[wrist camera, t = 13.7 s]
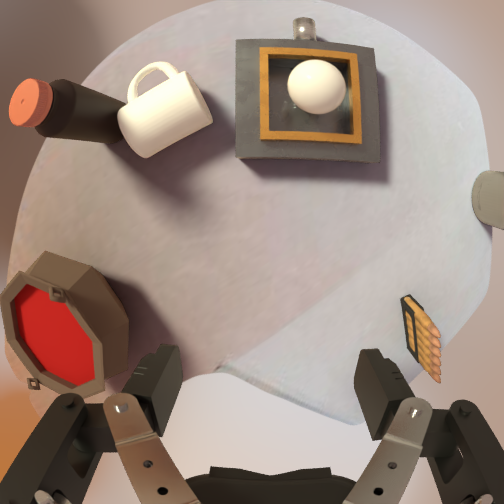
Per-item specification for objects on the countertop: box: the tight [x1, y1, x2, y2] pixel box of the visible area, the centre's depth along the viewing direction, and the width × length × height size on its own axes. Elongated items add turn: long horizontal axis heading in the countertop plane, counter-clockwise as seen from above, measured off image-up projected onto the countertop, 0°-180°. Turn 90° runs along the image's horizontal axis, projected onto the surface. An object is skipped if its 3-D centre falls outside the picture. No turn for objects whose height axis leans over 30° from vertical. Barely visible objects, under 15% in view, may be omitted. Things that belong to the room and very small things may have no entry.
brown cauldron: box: [0, 251, 129, 399], centre depth 38 cm, size 24×24×16 cm
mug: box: [117, 62, 213, 158], centre depth 34 cm, size 12×10×8 cm
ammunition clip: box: [400, 294, 441, 383], centre depth 38 cm, size 11×2×12 cm, turn 21°
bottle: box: [9, 78, 126, 144], centre depth 28 cm, size 7×7×20 cm
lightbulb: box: [287, 60, 346, 114], centre depth 30 cm, size 6×6×11 cm
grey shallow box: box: [235, 17, 380, 163], centre depth 33 cm, size 18×20×6 cm
